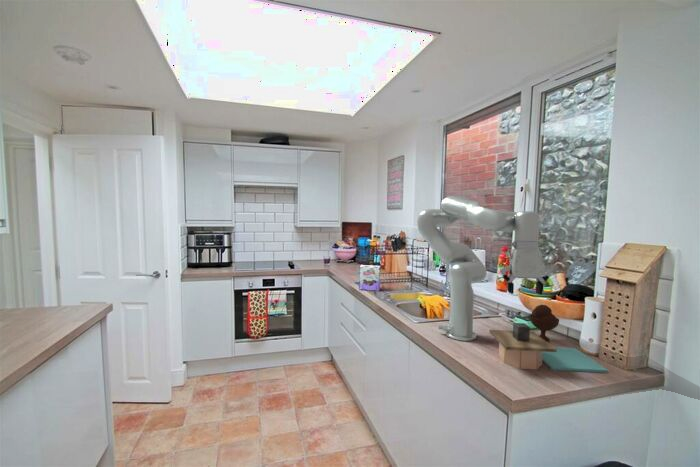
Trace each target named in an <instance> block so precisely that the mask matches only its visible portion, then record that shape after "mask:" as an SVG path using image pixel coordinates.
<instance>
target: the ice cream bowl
mask: <svg viewBox="0 0 700 467" xmlns="http://www.w3.org/2000/svg"><path fill="white" fill-rule="evenodd" d="M552 311H553V310H552V308H551V307H550V306H548V305H546V304H539V305H537V306H536V307H535V308H534V309H533V310H532V311H531V313H530V314H529V320H530V322H531V324H532V325H533V326H534V327H535V328H536V329H538V330H540V335H538V336H540V337H541V338H542V339H544V340H545V341H546V342H548V343H549V342H551V339H550V338H549V337H548V336H547V335H546V332H547V331H551V330H554V329H556V328H557V327H558V326H559V324H560V319H559V318H558V317H557V316H555V314H553V312H552Z"/></svg>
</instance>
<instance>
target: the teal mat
mask: <svg viewBox="0 0 700 467" xmlns="http://www.w3.org/2000/svg"><path fill="white" fill-rule="evenodd" d="M553 347H554V348H556V349H557V352H543V353H542V363H543V364H545V365H546V366H547V367H548V368H549V369H550V370H552V371H568V372H570V371H571V372H586V373H587V372H588V373H606V374H607V373H609V369H607V368H605V367H604V366H602V365H601V364H599V363H598V362H597V361H595V360H593V359H592V358H590V357H589V356H587V355H586V354H585V353H583V352H581V351H579V349H577V348H574V347H558V346H553Z"/></svg>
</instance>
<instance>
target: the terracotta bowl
mask: <svg viewBox="0 0 700 467" xmlns="http://www.w3.org/2000/svg"><path fill="white" fill-rule="evenodd" d="M542 353H543V351H523V350H506V349H505V347H504V346H503V345H502V344H501V343H500V342H499V341H498V358H499V359H500V360H501V361H502V363H503V364H505V365H508V366H512V367H514V368H517V369H520V370H538V369H539V368H540V367H541V366H542V365H543V362H542Z"/></svg>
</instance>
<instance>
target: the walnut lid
mask: <svg viewBox="0 0 700 467" xmlns="http://www.w3.org/2000/svg"><path fill="white" fill-rule="evenodd" d="M489 333H490V335H491V336H493V338H495V340H497V341H498V343H499V342H500V343H501V344H502V345H503V346H504V347H505V349H506V350H523V351H543V352H557V349H556V348H554V347H555V346H554V345H552V344H550V343H549V342H546V341H545V340H544V339H542V338H541V337H540V336H539V335H538V334H537V333H535V332H534V331H531V326H529V325H528V324H526V323H525V322H523V323H522V322H513V324H512V330H504V329H489Z"/></svg>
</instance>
